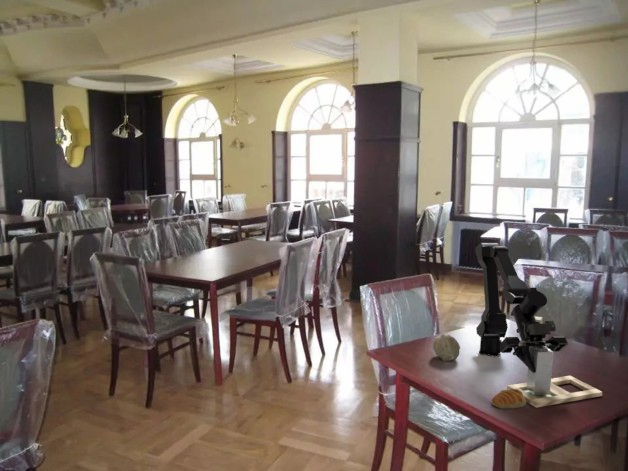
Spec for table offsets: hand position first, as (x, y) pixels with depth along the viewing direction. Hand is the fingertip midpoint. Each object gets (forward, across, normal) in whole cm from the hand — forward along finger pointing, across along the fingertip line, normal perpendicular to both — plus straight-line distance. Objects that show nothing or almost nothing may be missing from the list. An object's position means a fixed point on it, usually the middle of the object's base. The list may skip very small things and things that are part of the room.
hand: (542, 372), depth 148 cm
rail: (+4, +6, +7) cm, 10 cm away
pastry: (+8, -11, +4) cm, 14 cm away
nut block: (+4, 0, +6) cm, 7 cm away
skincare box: (-20, +16, +32) cm, 41 cm away
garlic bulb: (-16, -18, +27) cm, 36 cm away
